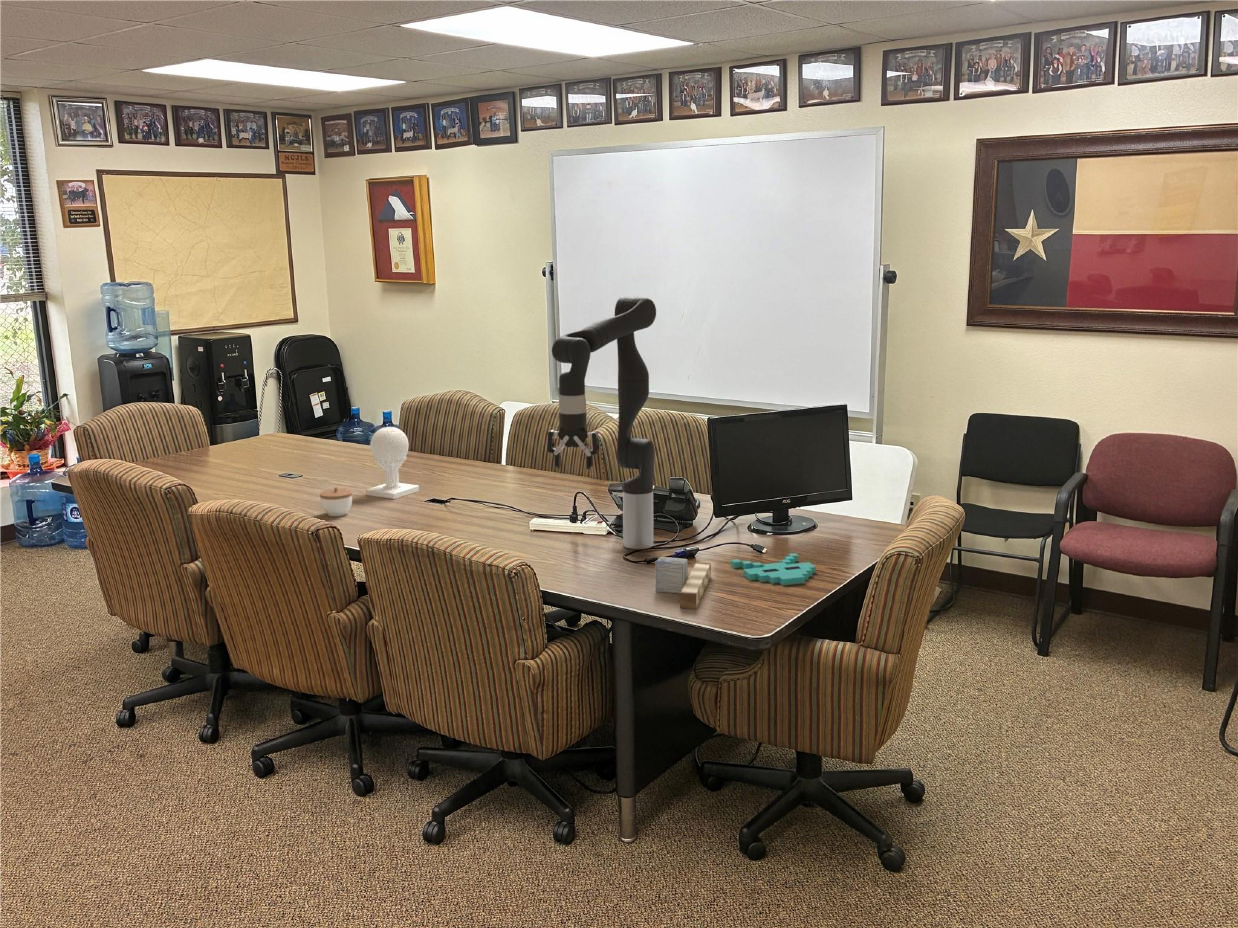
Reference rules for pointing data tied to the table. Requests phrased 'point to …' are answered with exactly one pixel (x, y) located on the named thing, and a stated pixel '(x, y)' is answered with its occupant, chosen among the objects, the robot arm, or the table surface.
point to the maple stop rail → (695, 585)
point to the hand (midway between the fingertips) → (573, 468)
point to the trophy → (390, 462)
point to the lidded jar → (336, 501)
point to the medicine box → (671, 574)
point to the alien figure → (777, 570)
